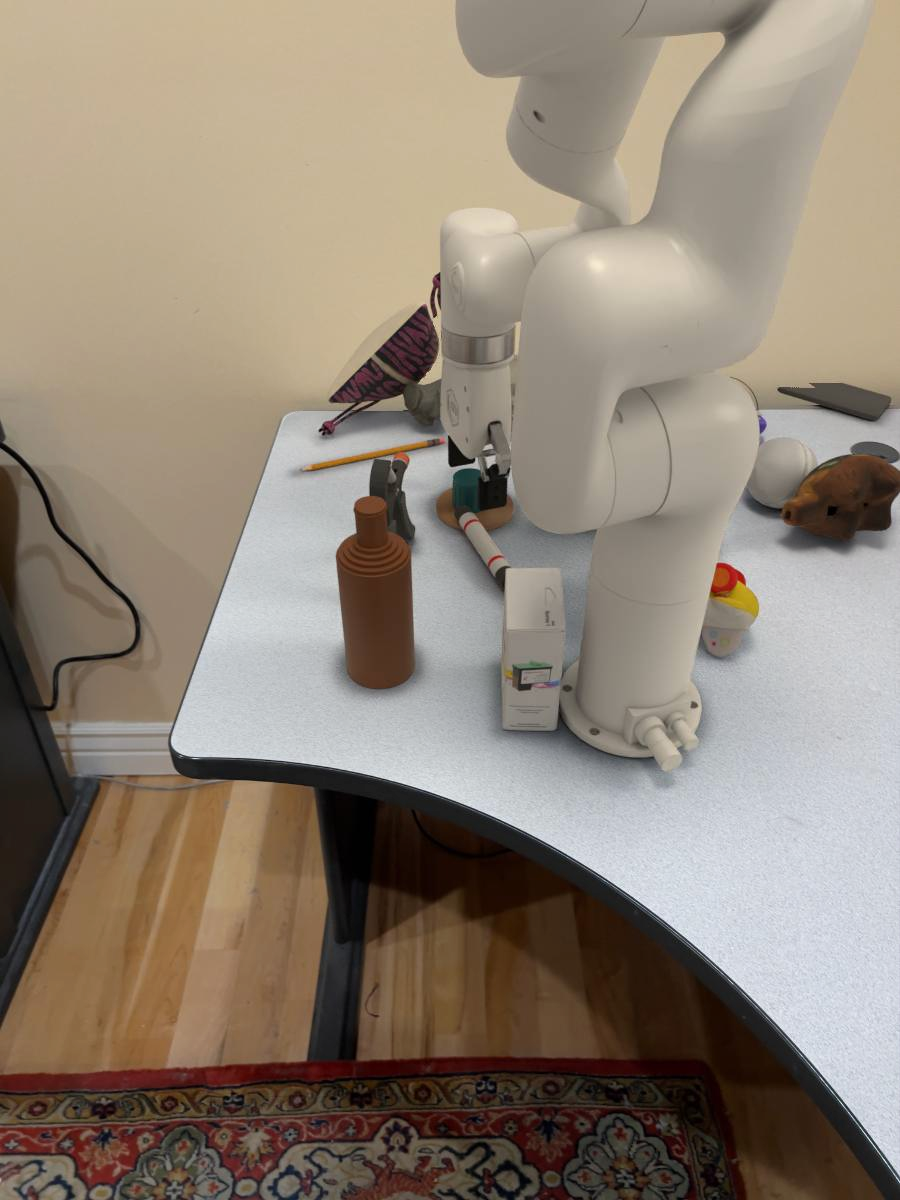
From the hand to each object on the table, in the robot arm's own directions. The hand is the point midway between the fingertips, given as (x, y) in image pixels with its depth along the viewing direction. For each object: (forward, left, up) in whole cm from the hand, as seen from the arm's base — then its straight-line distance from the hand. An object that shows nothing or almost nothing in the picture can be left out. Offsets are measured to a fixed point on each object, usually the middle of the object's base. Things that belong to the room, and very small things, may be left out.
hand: (476, 485), depth 105 cm
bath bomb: (-10, -30, +3) cm, 31 cm away
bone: (+27, -5, +3) cm, 28 cm away
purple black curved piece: (+21, +6, +8) cm, 23 cm away
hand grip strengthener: (-8, +12, -4) cm, 15 cm away
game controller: (+4, -36, -4) cm, 36 cm away
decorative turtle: (-22, -36, +1) cm, 42 cm away
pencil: (+15, +8, -3) cm, 17 cm away
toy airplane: (-31, -16, 0) cm, 35 cm away
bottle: (-21, +17, -4) cm, 28 cm away
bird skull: (+22, -17, -4) cm, 28 cm away
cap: (+1, +1, -3) cm, 3 cm away
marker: (-10, +2, -3) cm, 10 cm away
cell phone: (+10, -56, -2) cm, 57 cm away
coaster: (0, 0, -4) cm, 4 cm away
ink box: (-30, +6, -4) cm, 30 cm away
